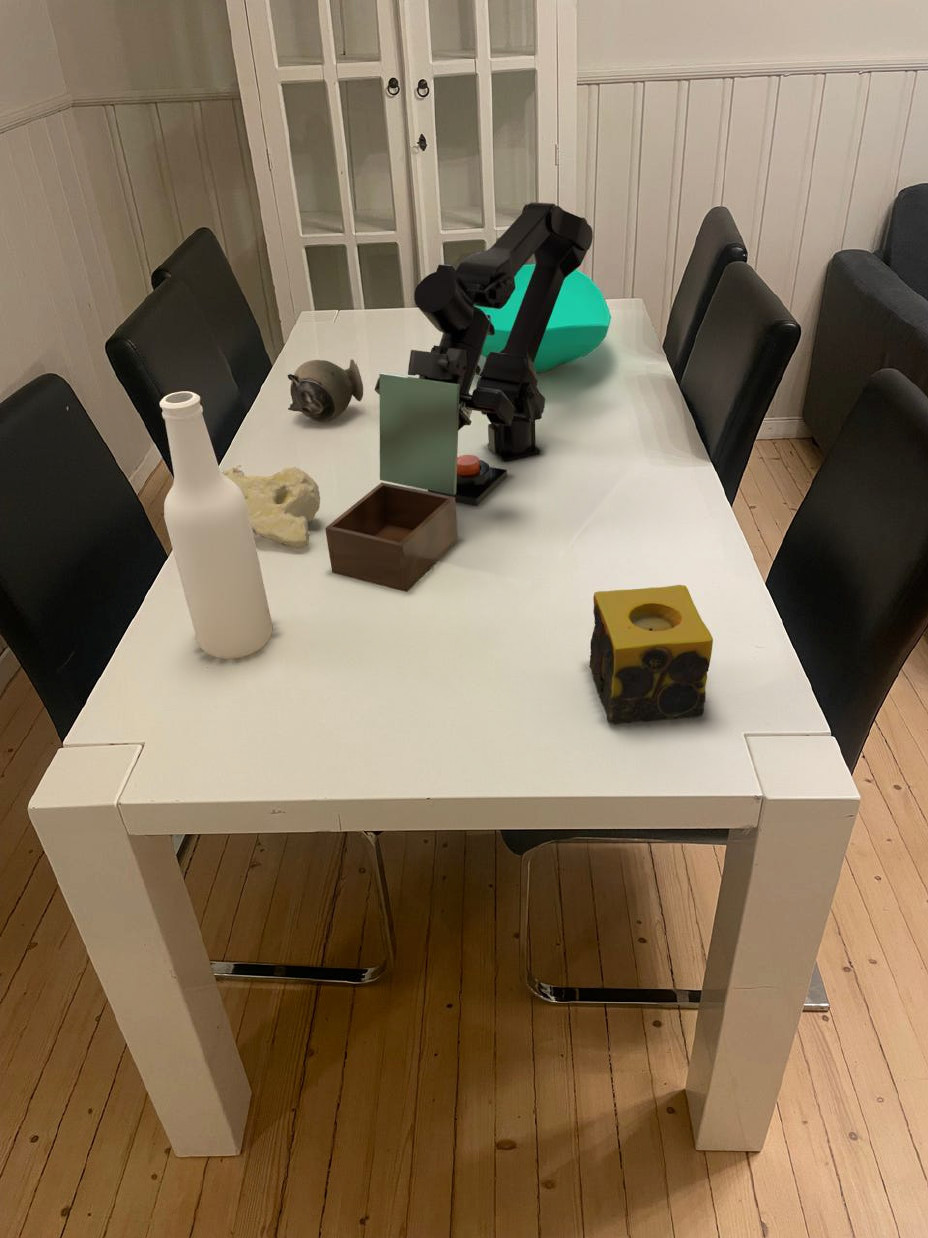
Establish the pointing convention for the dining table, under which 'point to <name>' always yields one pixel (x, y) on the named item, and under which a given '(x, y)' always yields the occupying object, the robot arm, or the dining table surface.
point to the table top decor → (556, 320)
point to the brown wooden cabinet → (392, 536)
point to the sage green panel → (419, 432)
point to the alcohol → (212, 539)
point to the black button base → (477, 484)
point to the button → (467, 465)
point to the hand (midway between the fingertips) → (425, 458)
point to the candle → (649, 654)
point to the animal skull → (279, 503)
